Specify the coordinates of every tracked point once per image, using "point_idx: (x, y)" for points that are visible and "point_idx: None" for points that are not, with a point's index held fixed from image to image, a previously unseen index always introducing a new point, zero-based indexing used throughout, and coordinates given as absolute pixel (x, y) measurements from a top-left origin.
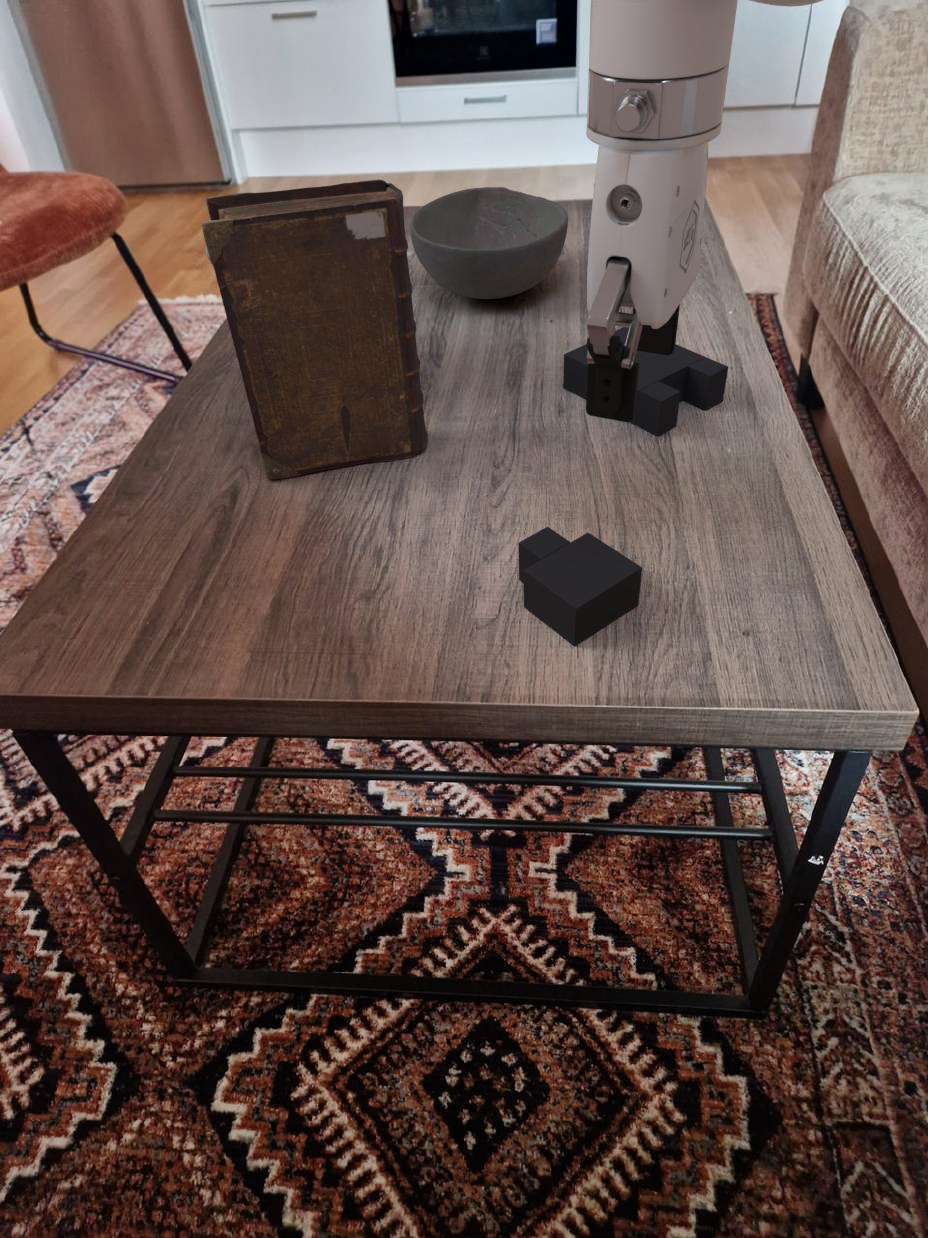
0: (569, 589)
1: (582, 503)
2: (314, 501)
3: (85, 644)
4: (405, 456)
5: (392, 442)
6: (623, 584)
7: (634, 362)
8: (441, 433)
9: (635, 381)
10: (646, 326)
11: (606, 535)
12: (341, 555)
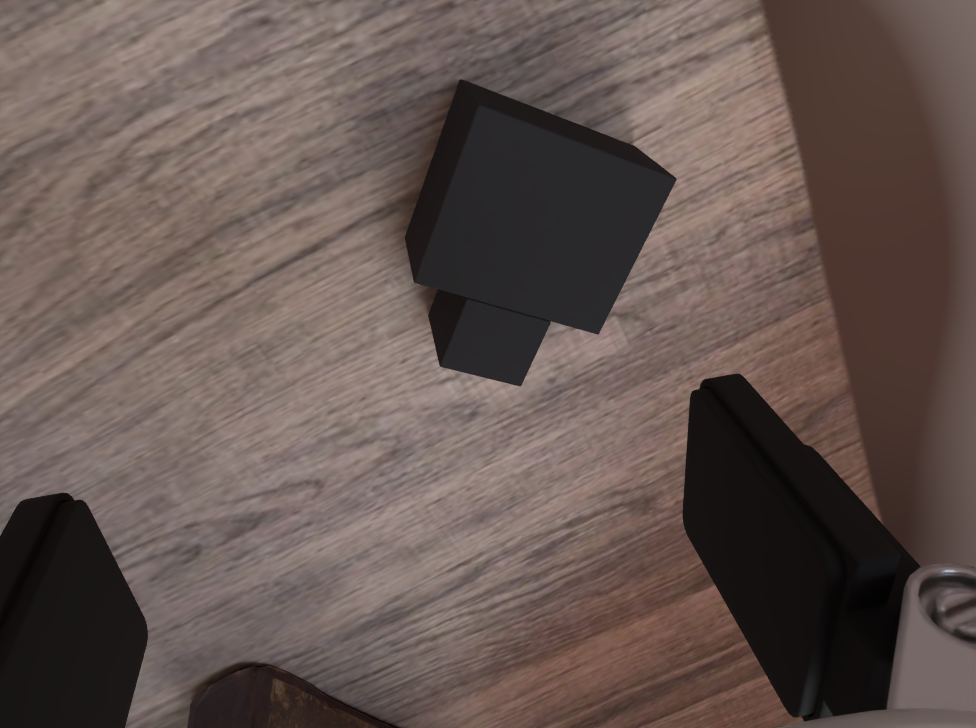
0: (623, 221)
1: (193, 354)
2: (472, 688)
3: None
4: (284, 674)
5: (299, 714)
6: (537, 122)
7: (850, 582)
8: (167, 676)
9: (841, 493)
10: (93, 697)
11: (268, 255)
12: (572, 587)
